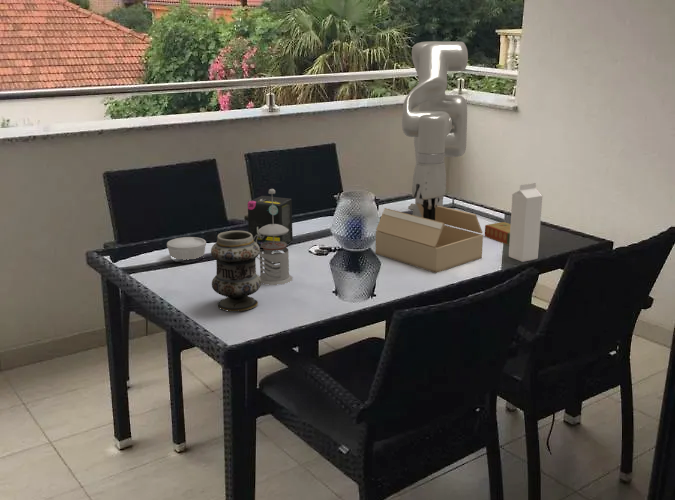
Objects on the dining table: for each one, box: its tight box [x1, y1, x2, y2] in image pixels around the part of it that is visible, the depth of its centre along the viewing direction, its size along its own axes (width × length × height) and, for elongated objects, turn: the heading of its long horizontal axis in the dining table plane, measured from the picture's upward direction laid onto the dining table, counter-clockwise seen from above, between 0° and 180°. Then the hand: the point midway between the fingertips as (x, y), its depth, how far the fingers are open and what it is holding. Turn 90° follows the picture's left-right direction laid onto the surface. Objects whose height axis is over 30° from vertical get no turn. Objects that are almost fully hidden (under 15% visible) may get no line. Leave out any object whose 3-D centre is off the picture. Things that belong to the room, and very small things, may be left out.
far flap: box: [416, 203, 483, 235], centre depth 225 cm, size 23×7×1 cm
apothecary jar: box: [210, 230, 262, 312], centre depth 184 cm, size 12×12×18 cm
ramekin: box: [166, 236, 207, 260], centre depth 222 cm, size 11×11×5 cm
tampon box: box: [247, 195, 294, 246], centre depth 232 cm, size 11×9×15 cm
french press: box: [253, 188, 294, 286], centre depth 202 cm, size 10×12×25 cm
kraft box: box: [375, 224, 484, 274], centre depth 222 cm, size 24×20×7 cm
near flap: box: [375, 207, 446, 247], centre depth 215 cm, size 23×7×1 cm
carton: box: [484, 221, 511, 246], centre depth 237 cm, size 8×16×4 cm, turn 30°
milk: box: [508, 182, 543, 263], centre depth 218 cm, size 6×6×22 cm
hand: (429, 221), depth 220 cm, fingers closed
